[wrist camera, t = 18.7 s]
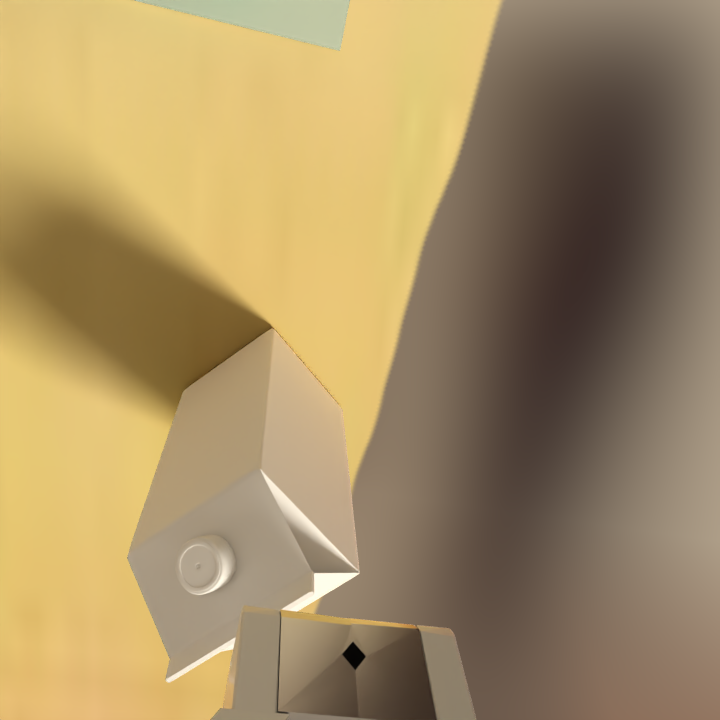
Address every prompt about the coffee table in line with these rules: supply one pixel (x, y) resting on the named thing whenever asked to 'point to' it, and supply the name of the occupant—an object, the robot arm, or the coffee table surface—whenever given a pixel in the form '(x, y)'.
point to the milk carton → (244, 503)
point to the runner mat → (274, 16)
